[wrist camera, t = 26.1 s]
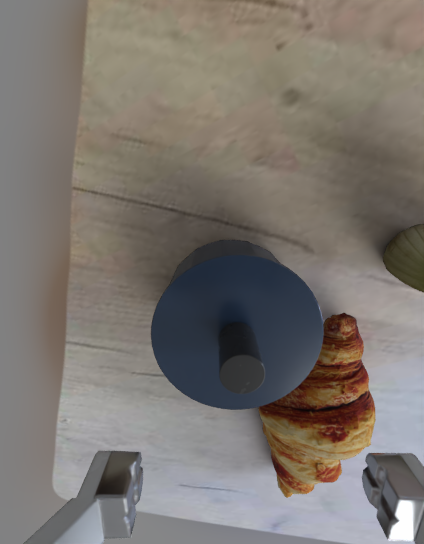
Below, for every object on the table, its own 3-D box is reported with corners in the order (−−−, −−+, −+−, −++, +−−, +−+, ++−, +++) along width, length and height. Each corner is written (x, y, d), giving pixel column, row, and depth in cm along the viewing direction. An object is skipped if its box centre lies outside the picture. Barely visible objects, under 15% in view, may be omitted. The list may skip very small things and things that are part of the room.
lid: (127, 285, 20) (98, 316, 15) (292, 225, 19) (320, 239, 14) (189, 416, 23) (182, 478, 18) (335, 373, 22) (370, 427, 17)
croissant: (299, 451, 36) (355, 518, 29) (231, 481, 31) (279, 569, 24) (346, 294, 29) (432, 334, 23) (269, 301, 24) (349, 354, 18)
